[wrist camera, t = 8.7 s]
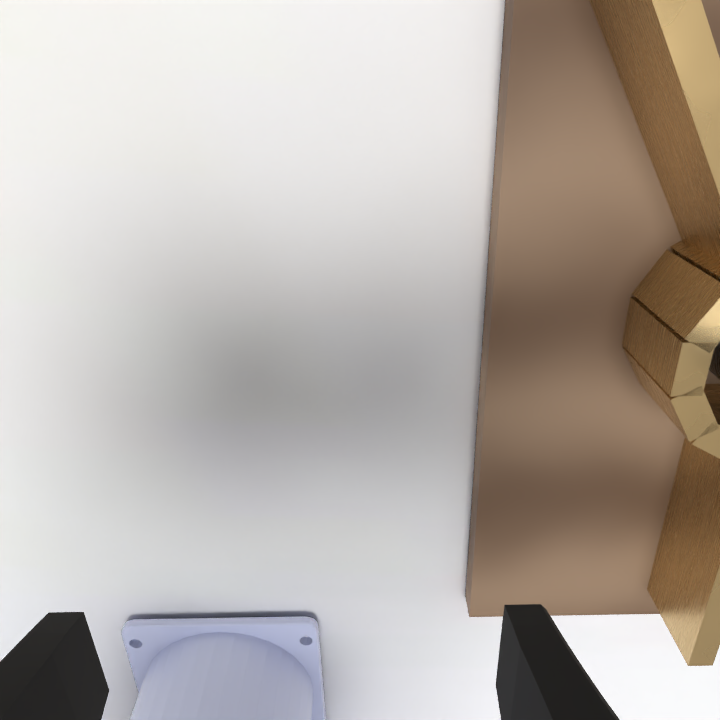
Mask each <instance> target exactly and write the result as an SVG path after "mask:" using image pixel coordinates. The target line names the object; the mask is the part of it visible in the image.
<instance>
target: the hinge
mask: <svg viewBox="0 0 720 720" xmlns="http://www.w3.org/2000/svg"><path fill="white" fill-rule="evenodd" d="M589 1H590V4H591V6H592V9H593V11H594V14H595V17H596V19H597V22H598V24H599V27H600V30H601V32H602V35H603V37H604V40H605V42H606V45H607V48H608V50H609V53H610V55H611V58H612V61H613V63H614V66H615V68H616V71H617V73H618V76H619V79H620V81H621V84H622V86H623V89H624V92H625V94H626V97H627V99H628V102H629V105H630V107H631V110H632V112H633V115H634V117H635V120H636V123H637V125H638V128H639V130H640V133H641V136H642V138H643V141H644V143H645V146H646V148H647V151H648V154H649V156H650V159H651V161H652V164H653V167H654V169H655V172H656V174H657V177H658V179H659V182H660V185H661V187H662V190H663V192H664V195H665V198H666V200H667V203H668V205H669V208H670V211H671V213H672V216H673V218H674V221H675V223H676V226H677V229H678V231H679V234H680V236H681V239H682V241H680V242H678V243H676V244H674V245H672V246H670V248H671V251H672V252H670V251H669V250H667V249H666V251H665V252H664V253H663V255H662V256H661V257H660V258H659V260H658V261H657V262H656V264H655V265H654V266H653V267H652V269H651V270H650V271H649V272H648V274H647V275H646V276H645V278H644V279H643V280H642V281H641V283H640V284H639V285H638V287H637V288H636V289H635V290H634V292H633V293H632V294H633V295H634V296H635V297H630V301H629V307H628V313H627V318H626V324H625V329H624V335H623V340H622V345H623V347H622V348H623V350H624V352H625V354H626V356H627V358H628V360H629V363H630V365H631V367H632V369H633V371H634V373H635V375H636V377H637V380H638V382H639V384H640V385H641V386H642V387H643V389H644V390H645V391H646V392H647V393H648V394H649V396H650V397H651V398H652V399H653V400H654V401H655V402H656V404H657V405H658V406H659V407H660V408H661V409H662V411H663V412H664V413H665V414H666V415H667V416H668V418H669V419H670V420H671V421H672V422H673V423H674V425H675V426H676V427H677V428H678V429H679V430H680V431H681V433H682V434H683V435H684V436H685V439H684V443H683V447H682V451H681V455H680V459H679V463H678V467H677V471H676V475H675V479H674V483H673V487H672V491H671V495H670V499H669V503H668V507H667V511H666V515H665V519H664V523H663V527H662V531H661V535H660V539H659V543H658V547H657V551H656V555H655V559H654V563H653V567H652V571H651V575H650V579H649V583H648V587H647V591H648V592H649V594H650V596H651V598H652V600H653V602H654V604H655V605H656V607H657V609H658V611H659V613H660V615H661V617H662V618H663V620H664V622H665V624H666V626H667V628H668V629H669V631H670V633H671V635H672V637H673V639H674V641H675V642H676V644H677V646H678V648H679V650H680V652H681V654H682V655H683V657H684V659H685V661H686V663H687V665H688V666H705V665H713V663H714V660H715V657H716V654H717V651H718V648H719V645H720V384H705V383H706V379H707V375H708V371H709V367H710V363H711V359H712V355H713V351H714V348H715V347H716V346H717V345H718V343H719V342H720V58H719V55H718V52H717V48H716V45H715V42H714V39H713V36H712V33H711V29H710V26H709V23H708V20H707V17H706V14H705V10H704V7H703V4H702V1H701V0H589Z"/></svg>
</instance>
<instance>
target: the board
mask: <svg viewBox="0 0 720 720" xmlns="http://www.w3.org/2000/svg"><path fill="white" fill-rule="evenodd" d="M701 1H702V4H703V7H704V10H705V14H706V17H707V20H708V23H709V26H710V29H711V33H712V36H713V39H714V42H715V45H716V48H717V52H718V55H719V58H720V0H701ZM680 241H682V239H681V236H680V234H679V231H678V229H677V226H676V223H675V221H674V218H673V216H672V213H671V211H670V208H669V205H668V203H667V200H666V198H665V195H664V192H663V190H662V187H661V185H660V182H659V179H658V177H657V174H656V172H655V169H654V167H653V164H652V161H651V159H650V156H649V154H648V151H647V148H646V146H645V143H644V141H643V138H642V136H641V133H640V130H639V128H638V125H637V123H636V120H635V117H634V115H633V112H632V110H631V107H630V105H629V102H628V99H627V97H626V94H625V92H624V89H623V86H622V84H621V81H620V79H619V76H618V73H617V71H616V68H615V66H614V63H613V61H612V58H611V55H610V53H609V50H608V48H607V45H606V42H605V40H604V37H603V35H602V32H601V30H600V27H599V24H598V22H597V19H596V17H595V14H594V11H593V9H592V6H591V4H590V1H589V0H505V15H504V29H503V44H502V59H501V74H500V89H499V104H498V119H497V134H496V149H495V164H494V179H493V193H492V208H491V223H490V238H489V253H488V268H487V283H486V298H485V313H484V328H483V342H482V357H481V372H480V387H479V402H478V417H477V432H476V447H475V462H474V477H473V491H472V506H471V521H470V536H469V551H468V566H467V581H466V596H465V597H466V602H467V607H468V612H469V617H492V616H503V613H504V605H519V604H541V605H542V606H543V607H544V608H546V610H547V611H548V613H549V615H609V614H660V613H659V611H658V609H657V607H656V605H655V604H654V602H653V600H652V598H651V596H650V594H649V592H648V591H647V587H648V583H649V579H650V575H651V571H652V567H653V563H654V559H655V555H656V551H657V547H658V543H659V539H660V535H661V531H662V527H663V523H664V519H665V515H666V511H667V507H668V503H669V499H670V495H671V491H672V487H673V483H674V479H675V475H676V471H677V467H678V463H679V459H680V455H681V451H682V447H683V443H684V439H685V436H684V435H683V434H682V433H681V431H680V430H679V429H678V428H677V427H676V426H675V425H674V423H673V422H672V421H671V420H670V419H669V418H668V416H667V415H666V414H665V413H664V412H663V411H662V409H661V408H660V407H659V406H658V405H657V404H656V402H655V401H654V400H653V399H652V398H651V397H650V396H649V394H648V393H647V392H646V391H645V390H644V389H643V387H642V386H641V385H640V384H639V382H638V380H637V377H636V375H635V373H634V371H633V369H632V367H631V365H630V363H629V360H628V358H627V356H626V354H625V352H624V350H623V348H622V347H623V345H622V340H623V335H624V329H625V324H626V318H627V313H628V307H629V301H630V297H635V296H634V295H633V294H632V293H633V292H634V290H635V289H636V288H637V287H638V285H639V284H640V283H641V281H642V280H643V279H644V278H645V276H646V275H647V274H648V272H649V271H650V270H651V269H652V267H653V266H654V265H655V264H656V262H657V261H658V260H659V258H660V257H661V256H662V255H663V253H664V252H665V251H666V249H667V250H669V251H670V252H672V251H671V248H670V246H672V245H674V244H676V243H678V242H680ZM705 384H720V380H719V379H718V378H717V377H716V376H715V375H714V374H713V373H711V372H710V371H708V375H707V379H706V383H705Z"/></svg>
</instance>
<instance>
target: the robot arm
mask: <svg viewBox="0 0 720 720" xmlns="http://www.w3.org/2000/svg"><path fill="white" fill-rule="evenodd" d="M305 636H306V637H305ZM122 638H123V641H124V645H125V648H126V651H127V655H128V658H129V662H130V665H131V668H132V672H133V675H134V679H135V682H136V685H137V689H138V692H139V695H138V698H137V700H136V703H135V706H134V709H133V712H132V714H131V717H130V720H326V712H325V700H324V688H323V676H322V665H321V653H320V641H319V629H318V623H317V621H316V620H315V619H313V618H311V617H306V616H300V617H242V618H183V619H133V620H129V621H127V622H126V623H125V624H124V626H123V629H122ZM496 689H497V695H498V702H499V708H500V714H501V720H619V718H618V717H617V716H616V714H615V713H614V711H613V710H612V709H611V707H610V706H609V705H608V703H607V702H606V700H605V699H604V698H603V696H602V695H601V693H600V692H599V690H598V689H597V688H596V686H595V685H594V683H593V682H592V680H591V679H590V677H589V676H588V674H587V673H586V671H585V670H584V668H583V667H582V665H581V664H580V662H579V661H578V659H577V658H576V656H575V655H574V653H573V652H572V650H571V649H570V647H569V646H568V644H567V642H566V641H565V639H564V638H563V636H562V634H561V633H560V631H559V630H558V628H557V626H556V625H555V623H554V621H553V620H552V618H551V616H550V615H549V613H548V611H547V610H546V608H544V607H543V606H542V605H541V604H519V605H504V613H503V623H502V632H501V641H500V650H499V660H498V669H497V678H496ZM108 693H109V688H108V685H107V682H106V679H105V676H104V673H103V670H102V667H101V664H100V661H99V658H98V655H97V652H96V649H95V646H94V642H93V639H92V636H91V633H90V630H89V627H88V624H87V621H86V618H85V615H84V612H57V613H48V614H47V615H46V616H45V617H44V618H43V619H42V620H41V621H40V622H39V623H38V624H37V625H36V626H35V627H34V628H33V629H32V630H31V631H30V632H29V633H28V634H27V635H26V636H25V637H24V638H23V639H22V640H21V641H20V642H19V643H18V644H17V645H16V646H15V647H14V648H13V649H12V650H11V651H10V652H9V653H8V654H7V655H6V656H5V657H4V658H3V659H2V660H1V662H0V720H101V718H102V714H103V711H104V707H105V704H106V700H107V696H108Z"/></svg>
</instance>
